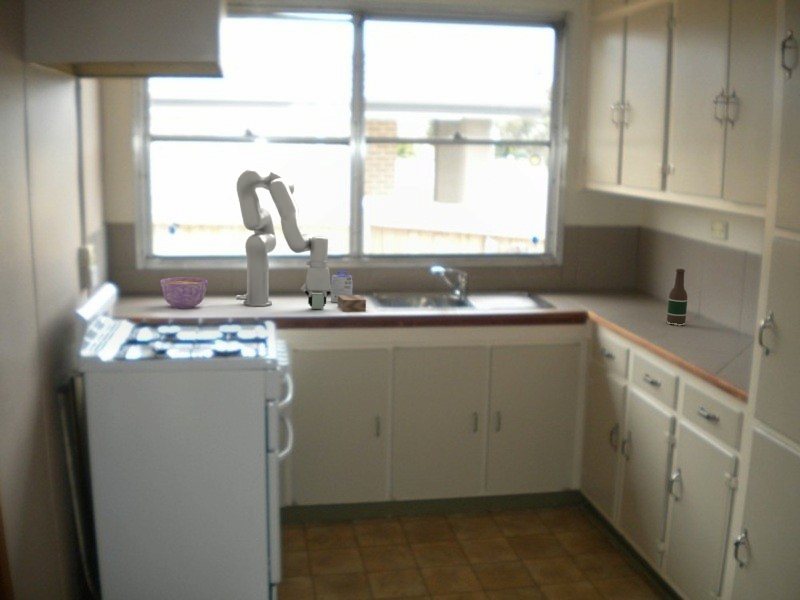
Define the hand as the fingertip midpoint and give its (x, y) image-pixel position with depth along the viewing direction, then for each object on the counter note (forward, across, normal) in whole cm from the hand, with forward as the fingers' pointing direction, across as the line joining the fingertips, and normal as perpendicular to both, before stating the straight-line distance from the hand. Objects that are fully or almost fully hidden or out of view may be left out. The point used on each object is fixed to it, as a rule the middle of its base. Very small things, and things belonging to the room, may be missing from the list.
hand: (317, 305), depth 396 cm
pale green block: (+1, 0, 0) cm, 1 cm away
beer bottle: (-1, +148, -47) cm, 156 cm away
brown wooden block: (+1, +15, 0) cm, 15 cm away
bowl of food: (+3, -56, +8) cm, 57 cm away
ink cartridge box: (+2, +14, +18) cm, 23 cm away
